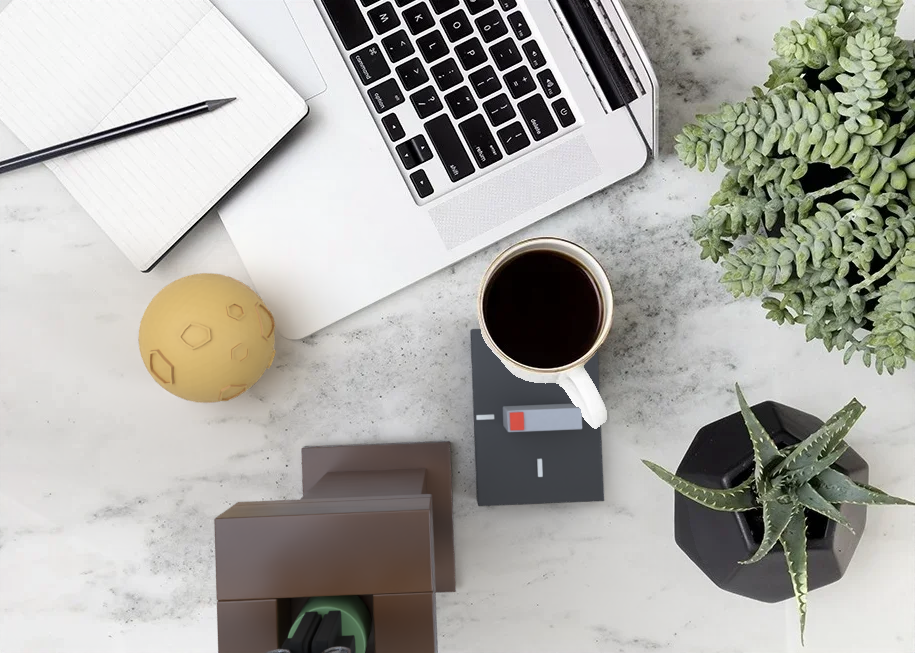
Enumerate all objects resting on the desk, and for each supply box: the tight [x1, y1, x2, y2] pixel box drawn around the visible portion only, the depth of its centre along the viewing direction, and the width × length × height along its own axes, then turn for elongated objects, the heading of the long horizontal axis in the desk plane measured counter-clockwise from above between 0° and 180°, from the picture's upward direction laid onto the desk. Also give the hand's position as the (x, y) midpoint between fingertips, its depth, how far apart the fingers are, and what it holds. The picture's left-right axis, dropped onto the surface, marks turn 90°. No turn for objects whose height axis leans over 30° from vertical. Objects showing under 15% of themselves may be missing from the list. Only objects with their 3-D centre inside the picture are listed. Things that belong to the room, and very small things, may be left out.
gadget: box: [469, 328, 605, 507], centre depth 63 cm, size 14×10×3 cm
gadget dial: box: [503, 404, 582, 432], centre depth 59 cm, size 6×2×5 cm, turn 92°
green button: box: [288, 595, 371, 653], centre depth 37 cm, size 4×4×3 cm
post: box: [300, 440, 457, 594], centre depth 52 cm, size 12×12×24 cm
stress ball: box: [138, 272, 277, 404], centre depth 59 cm, size 10×10×10 cm
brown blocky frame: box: [213, 494, 439, 653], centre depth 38 cm, size 12×10×4 cm
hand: (325, 644), depth 36 cm, fingers closed
